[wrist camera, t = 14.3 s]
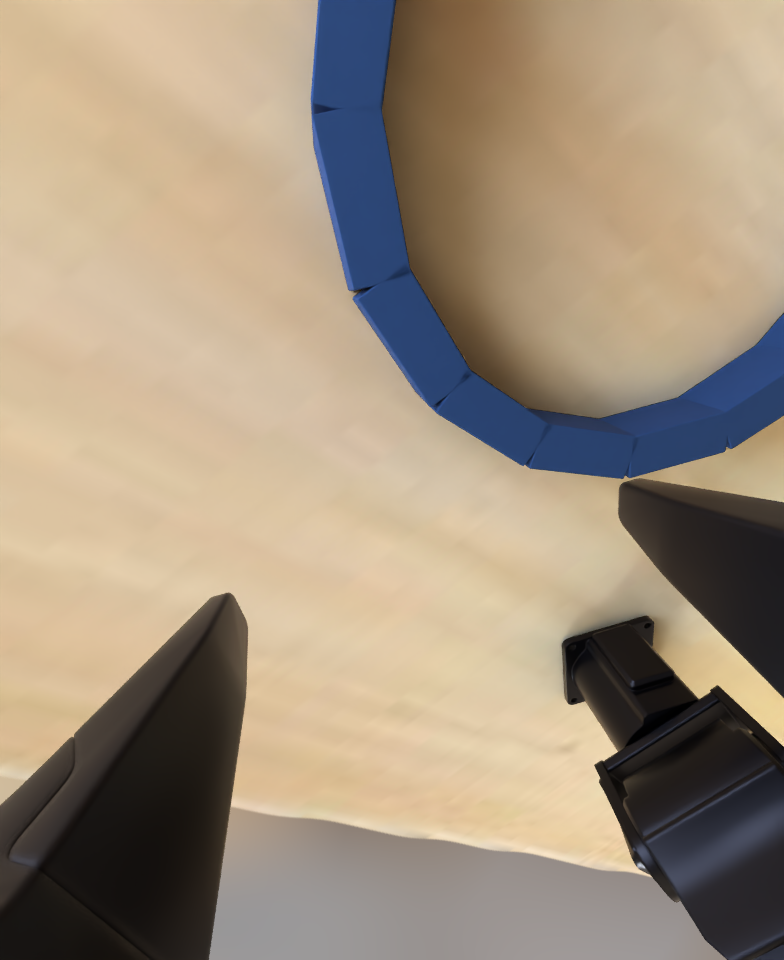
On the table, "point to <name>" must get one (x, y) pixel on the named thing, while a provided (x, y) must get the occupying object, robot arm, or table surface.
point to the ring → (423, 337)
